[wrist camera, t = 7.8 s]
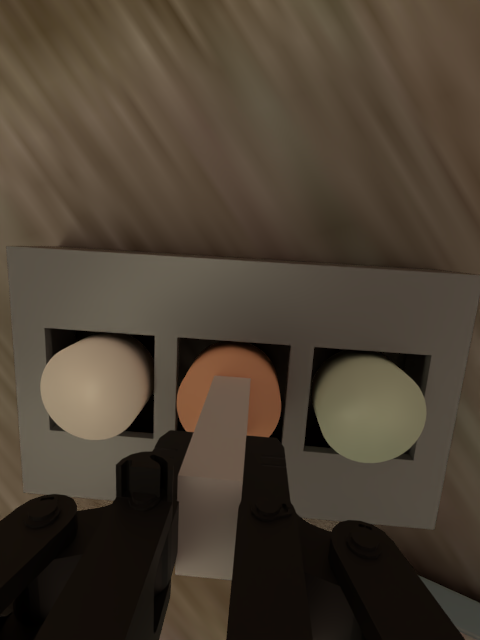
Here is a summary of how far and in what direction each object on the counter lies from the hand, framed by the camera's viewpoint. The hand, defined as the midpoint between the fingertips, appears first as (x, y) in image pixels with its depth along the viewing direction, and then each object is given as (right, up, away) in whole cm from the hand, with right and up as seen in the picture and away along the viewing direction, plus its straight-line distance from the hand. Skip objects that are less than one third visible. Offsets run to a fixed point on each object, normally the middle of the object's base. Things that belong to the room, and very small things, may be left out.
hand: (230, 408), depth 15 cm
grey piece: (0, +1, +5) cm, 5 cm away
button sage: (+6, 0, +3) cm, 7 cm away
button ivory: (-6, +1, +3) cm, 7 cm away
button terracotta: (0, +1, +3) cm, 3 cm away
